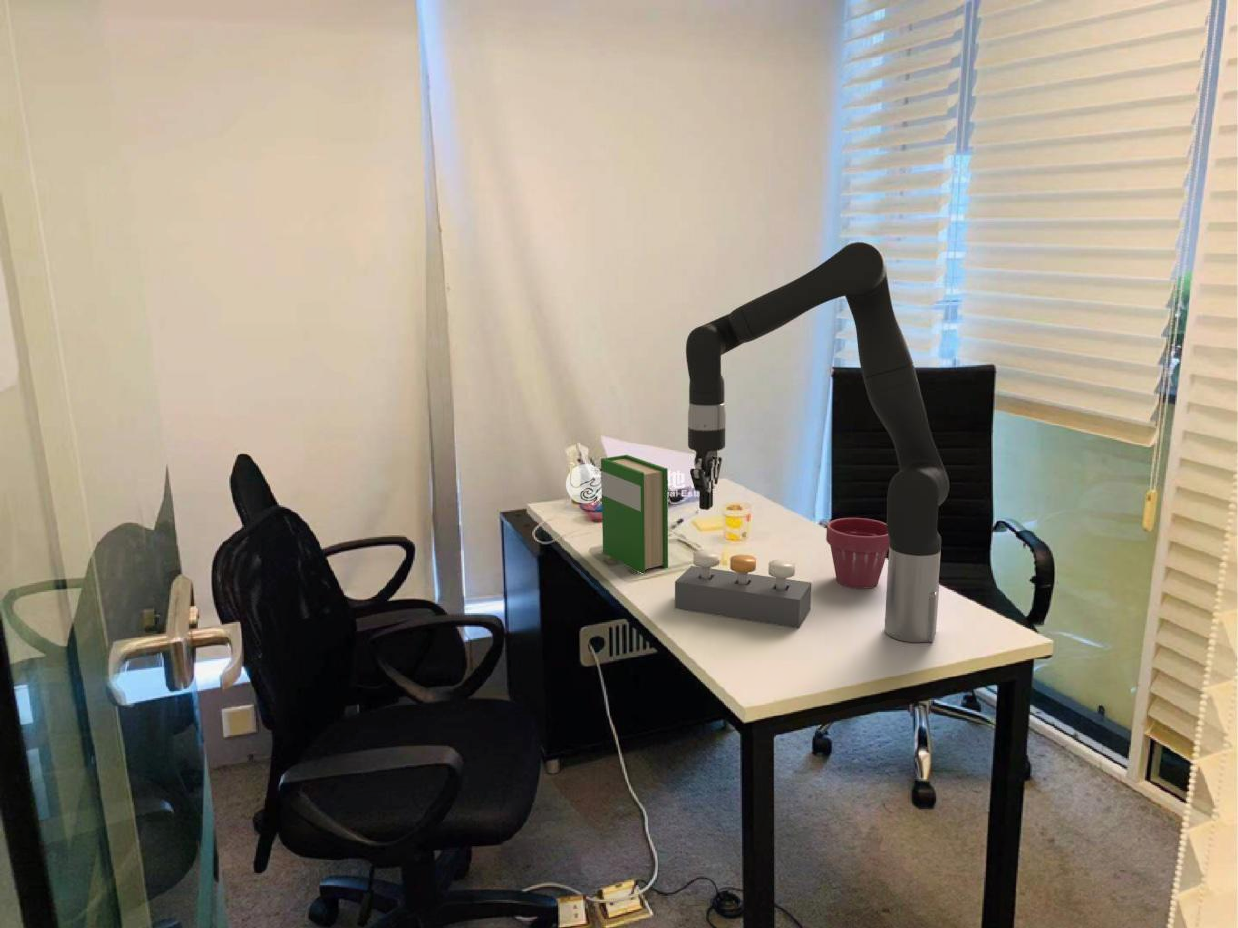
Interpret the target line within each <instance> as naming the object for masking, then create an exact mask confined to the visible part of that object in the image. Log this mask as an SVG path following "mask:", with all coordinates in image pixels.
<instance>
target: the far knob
mask: <svg viewBox="0 0 1238 928" xmlns="http://www.w3.org/2000/svg"><path fill="white" fill-rule="evenodd" d="M692 554H693V558H692V559H693V562H692V563H693V566H695V567H701V579H706V580H711V569H712V568H715V567H717V566H718V565H719V561H720V560H719V556H720V555H719V553H718V552H717V551H716V550H712V549H711V550H710V549H700V550H696V551H694V552H693V553H692Z"/></svg>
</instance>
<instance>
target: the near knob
mask: <svg viewBox="0 0 1238 928" xmlns="http://www.w3.org/2000/svg"><path fill="white" fill-rule="evenodd" d="M795 573H796V564H795V562H793V561H792V560H787V559H774V560H771V561H769V562H768V575H769V576H770V577H775V578H776V590H782V591H786V579H790V578H792V577H794V576H795V575H796V574H795Z"/></svg>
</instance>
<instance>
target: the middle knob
mask: <svg viewBox="0 0 1238 928" xmlns="http://www.w3.org/2000/svg"><path fill="white" fill-rule="evenodd" d="M729 560H730V561H729V562H730V564H729V565H730V567H729V568H730V570H731V571H732V572H738V584H741V585H748V574H749V573H753V572H754V571H756V569H757V558H756V557H754V556H752V555H749V554H736V555H732V556H731V557H730V559H729Z"/></svg>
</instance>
